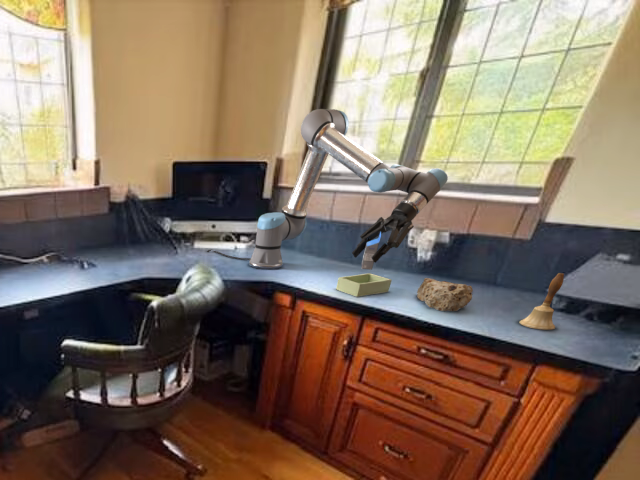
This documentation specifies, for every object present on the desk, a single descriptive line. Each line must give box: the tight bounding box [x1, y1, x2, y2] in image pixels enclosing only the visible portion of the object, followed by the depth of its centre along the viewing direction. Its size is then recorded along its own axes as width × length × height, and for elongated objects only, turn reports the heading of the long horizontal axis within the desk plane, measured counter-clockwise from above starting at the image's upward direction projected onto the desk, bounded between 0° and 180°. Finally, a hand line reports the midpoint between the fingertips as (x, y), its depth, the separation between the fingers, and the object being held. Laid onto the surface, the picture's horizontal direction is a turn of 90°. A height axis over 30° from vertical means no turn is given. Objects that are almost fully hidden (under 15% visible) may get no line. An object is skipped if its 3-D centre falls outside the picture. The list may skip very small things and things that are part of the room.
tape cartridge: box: [361, 232, 382, 271], centre depth 157 cm, size 9×4×12 cm, turn 154°
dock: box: [335, 273, 392, 298], centre depth 163 cm, size 11×16×5 cm
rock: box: [416, 277, 474, 312], centre depth 147 cm, size 21×14×10 cm
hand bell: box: [519, 272, 565, 331], centre depth 125 cm, size 8×8×16 cm
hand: (363, 257), depth 157 cm, fingers closed on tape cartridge, 8 cm apart
